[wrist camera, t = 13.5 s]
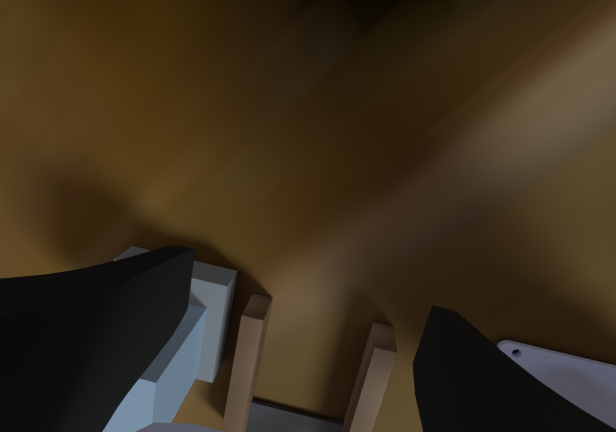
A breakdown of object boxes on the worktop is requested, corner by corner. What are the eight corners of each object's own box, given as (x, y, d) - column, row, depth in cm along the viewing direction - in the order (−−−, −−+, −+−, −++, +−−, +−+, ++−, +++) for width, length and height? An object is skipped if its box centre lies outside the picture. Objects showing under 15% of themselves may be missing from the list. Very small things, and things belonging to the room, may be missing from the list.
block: (207, 308, 22) (156, 382, 16) (197, 374, 24) (147, 465, 18) (128, 289, 22) (51, 356, 17) (123, 356, 24) (50, 440, 18)
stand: (237, 271, 24) (227, 286, 22) (222, 361, 25) (212, 382, 24) (132, 246, 24) (113, 259, 22) (125, 337, 26) (107, 357, 24)
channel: (393, 326, 23) (397, 352, 21) (352, 455, 27) (352, 491, 24) (252, 293, 24) (241, 315, 21) (229, 424, 27) (217, 456, 24)
